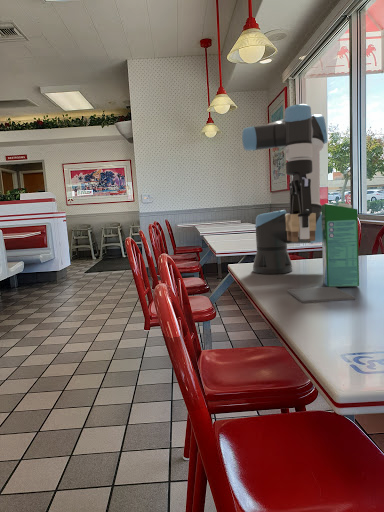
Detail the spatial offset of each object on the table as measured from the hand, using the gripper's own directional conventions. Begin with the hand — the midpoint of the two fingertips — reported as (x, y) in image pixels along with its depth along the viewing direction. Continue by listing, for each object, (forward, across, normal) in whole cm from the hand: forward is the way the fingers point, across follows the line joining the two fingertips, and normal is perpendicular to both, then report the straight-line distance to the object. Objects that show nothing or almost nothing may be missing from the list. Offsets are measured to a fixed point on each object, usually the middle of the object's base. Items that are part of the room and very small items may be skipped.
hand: (300, 238), depth 115 cm
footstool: (+1, 0, 0) cm, 1 cm away
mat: (+16, +9, +2) cm, 18 cm away
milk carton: (+15, -2, +12) cm, 20 cm away
